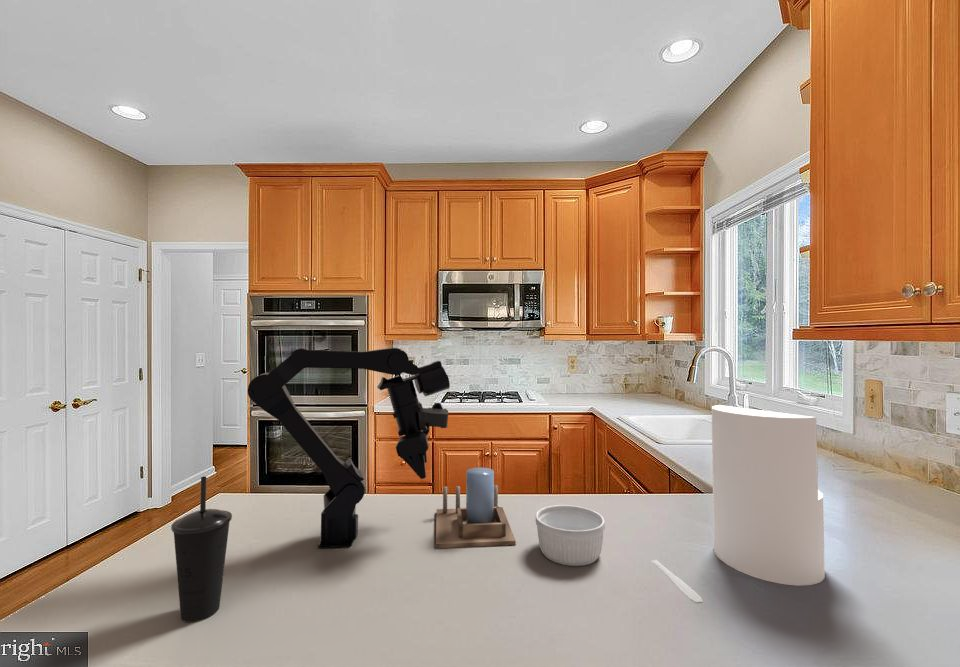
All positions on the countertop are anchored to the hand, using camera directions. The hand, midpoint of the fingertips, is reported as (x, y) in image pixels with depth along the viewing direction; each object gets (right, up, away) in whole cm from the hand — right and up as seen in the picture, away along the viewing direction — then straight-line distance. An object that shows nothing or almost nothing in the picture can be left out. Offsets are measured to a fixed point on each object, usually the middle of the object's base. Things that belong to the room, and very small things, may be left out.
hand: (424, 470), depth 93 cm
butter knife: (+45, -13, -14) cm, 49 cm away
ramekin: (+30, -13, -12) cm, 34 cm away
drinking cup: (-30, -12, -30) cm, 44 cm away
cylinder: (+66, -12, -14) cm, 69 cm away
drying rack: (+11, -12, 0) cm, 17 cm away
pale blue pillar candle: (+12, -12, -2) cm, 17 cm away
